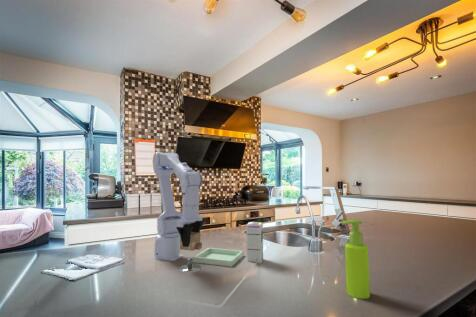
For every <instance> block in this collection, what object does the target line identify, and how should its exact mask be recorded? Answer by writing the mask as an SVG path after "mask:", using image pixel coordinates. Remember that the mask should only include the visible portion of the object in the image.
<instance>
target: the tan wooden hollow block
mask: <svg viewBox="0 0 476 317" xmlns="http://www.w3.org/2000/svg"><path fill="white" fill-rule="evenodd" d="M201 233H202V232H200V233H199V232H191V236H190V244H189V247H183V245H182V241H181V237H180V250H182V251H183V250H184V251H197V250H198V251H199V250H201V249H202V248H203V244H202V243H203V242H201Z"/></svg>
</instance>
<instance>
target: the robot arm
mask: <svg viewBox="0 0 476 317" xmlns="http://www.w3.org/2000/svg"><path fill="white" fill-rule="evenodd" d="M179 157H180V156H179V154H178V153H176V152H173V153H171V152H159V151H156V152H154V154H153V156H152V167H153V173H154V174H156V175H157V180H158V185H159V192H160V199H161V206H162V213H161V214H159V216H158V217H157V221H156V222H157V223H156V224H157V225H156V232H157V233H158V235H157V237H156V238H155V241H154V257H153V259H156V260H164V261H172V262H174V261H176V260H178V259H180V258H181V257H183V256H184V254H182V253H181V252H180V251H181V249H180V237H181V241H182V245H183V247H189V244H190V236H191V232H199V233H201V230H202V228H203V225H204V222H203V215H202V214H199V210H200V206H199V205H200V187H201V186H203V185H202V184H203V176H202V174H201V171H194V170H193V169H192V167H190V166H189V165H188V163H187V162H181V161H180V158H179ZM173 174H175V176H176V177H177V179H179V184H180V189H181V190H180V192H181V193H182V213H181V212H179V211H178V210H177V209H176V205H175V201H174V199H175V198H174V193H173V186H172V181H171V175H173Z"/></svg>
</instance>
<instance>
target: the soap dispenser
mask: <svg viewBox="0 0 476 317" xmlns="http://www.w3.org/2000/svg"><path fill="white" fill-rule="evenodd" d="M340 223H341V224H343V225H350V224H351V225H352V227H351V228H352V229H351V230H352V231H349V232H348V234H349V238H348V239H349V242H348V243H347V242H346V243H345V244H344V254H345V257H344V258H345V284H346V294H347V295H348V296H350V297H353V298H356V299H361V300H362V299H365V300H367V299H369V298H370V297H371V291H370V290H371V288H370V287H371V286H370V285H371V284H370V264H369V259H370V258H369V246H368V245H365V244H364V243H363V242H364V239H363V233H362V232H361V231H360V225H361V224H363V222H362V220H361V221H360V220H354V219H353V220H352V219H349V220H348V219H347V220H343V221H341V222H340Z"/></svg>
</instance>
